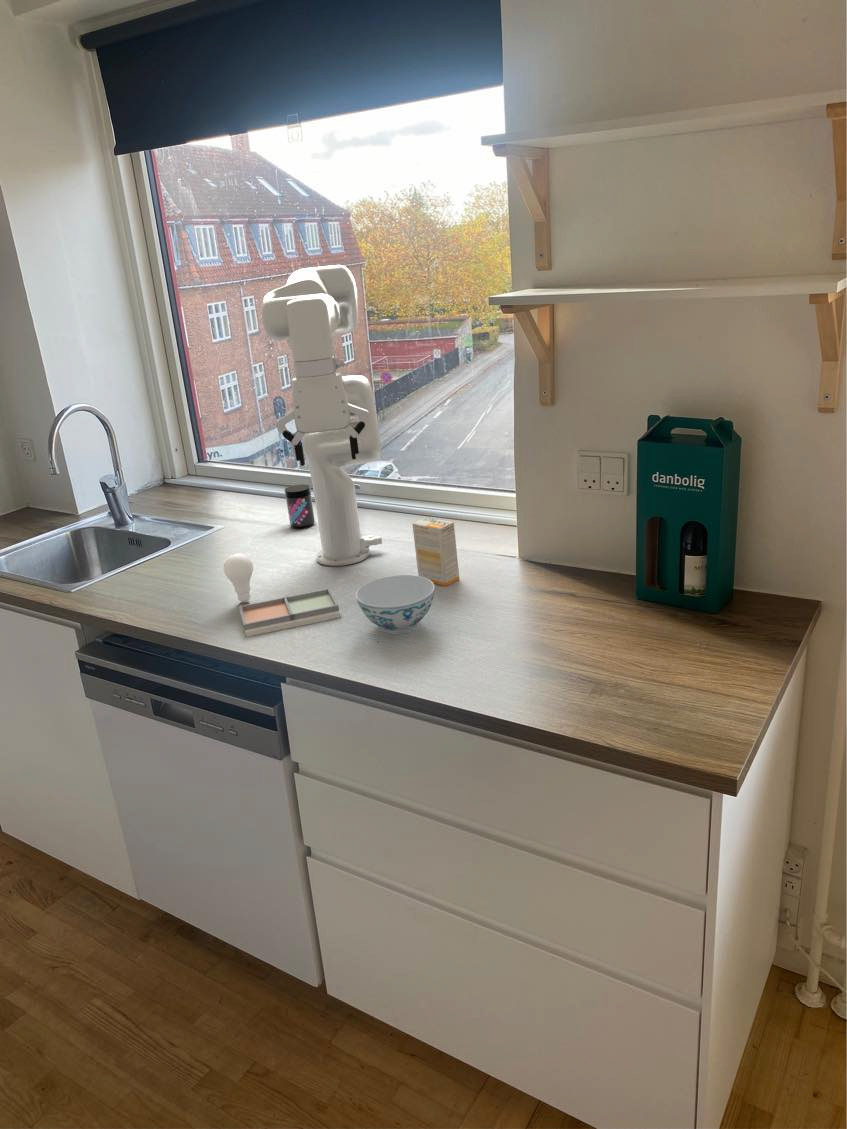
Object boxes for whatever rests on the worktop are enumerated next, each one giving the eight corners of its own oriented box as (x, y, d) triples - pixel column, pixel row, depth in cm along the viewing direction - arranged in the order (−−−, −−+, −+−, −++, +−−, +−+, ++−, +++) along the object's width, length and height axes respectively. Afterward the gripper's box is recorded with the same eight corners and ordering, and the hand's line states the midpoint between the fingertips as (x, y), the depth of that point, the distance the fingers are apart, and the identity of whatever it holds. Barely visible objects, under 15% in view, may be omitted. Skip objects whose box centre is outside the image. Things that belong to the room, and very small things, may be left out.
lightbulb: (235, 610, 183) (225, 562, 179) (227, 601, 188) (217, 554, 184) (262, 602, 185) (254, 554, 181) (254, 594, 190) (245, 547, 186)
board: (329, 595, 185) (328, 586, 184) (341, 617, 174) (339, 607, 173) (240, 613, 181) (238, 604, 180) (246, 636, 170) (244, 626, 169)
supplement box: (460, 579, 187) (455, 521, 182) (445, 587, 183) (440, 528, 179) (432, 572, 192) (426, 516, 187) (417, 579, 189) (411, 522, 184)
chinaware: (345, 628, 169) (340, 592, 166) (407, 603, 177) (403, 568, 174) (390, 652, 158) (385, 613, 155) (454, 625, 166) (450, 587, 163)
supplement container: (285, 526, 233) (279, 489, 229) (306, 519, 237) (301, 483, 233) (299, 531, 228) (293, 493, 224) (320, 524, 232) (314, 486, 228)
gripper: (362, 361, 161) (373, 451, 167) (268, 371, 160) (283, 462, 166) (363, 365, 154) (375, 459, 160) (266, 376, 153) (281, 471, 159)
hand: (328, 461), depth 163 cm, fingers open, 9 cm apart
